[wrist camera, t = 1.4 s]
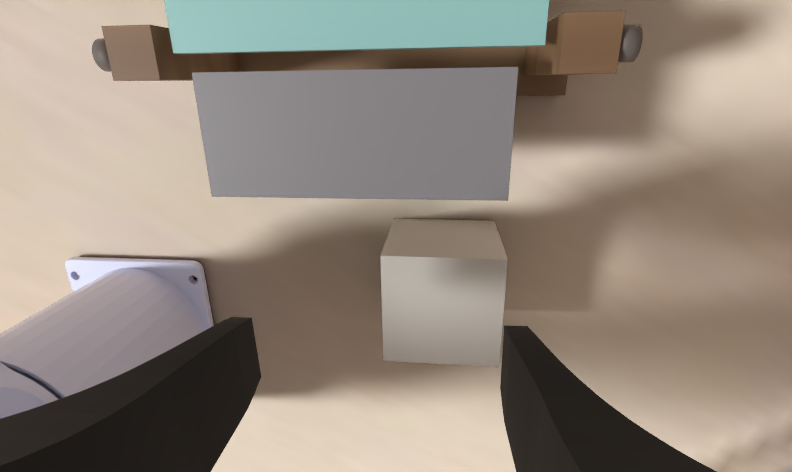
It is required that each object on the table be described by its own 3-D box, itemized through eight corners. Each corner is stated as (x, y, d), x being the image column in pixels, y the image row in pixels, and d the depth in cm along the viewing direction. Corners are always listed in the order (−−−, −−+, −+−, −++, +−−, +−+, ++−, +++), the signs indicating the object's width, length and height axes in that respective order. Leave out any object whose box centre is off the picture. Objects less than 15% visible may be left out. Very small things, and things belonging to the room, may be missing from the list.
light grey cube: (487, 308, 23) (499, 367, 18) (395, 305, 24) (383, 360, 19) (494, 220, 21) (508, 259, 17) (393, 218, 22) (380, 255, 17)
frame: (569, 94, 19) (633, 101, 13) (207, 98, 21) (102, 106, 14) (577, 29, 18) (649, 1, 12) (198, 38, 20) (82, 19, 13)
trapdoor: (525, 189, 15) (533, 200, 14) (211, 186, 16) (189, 196, 15) (562, -221, 11) (578, -262, 10) (151, -187, 13) (115, -220, 11)
